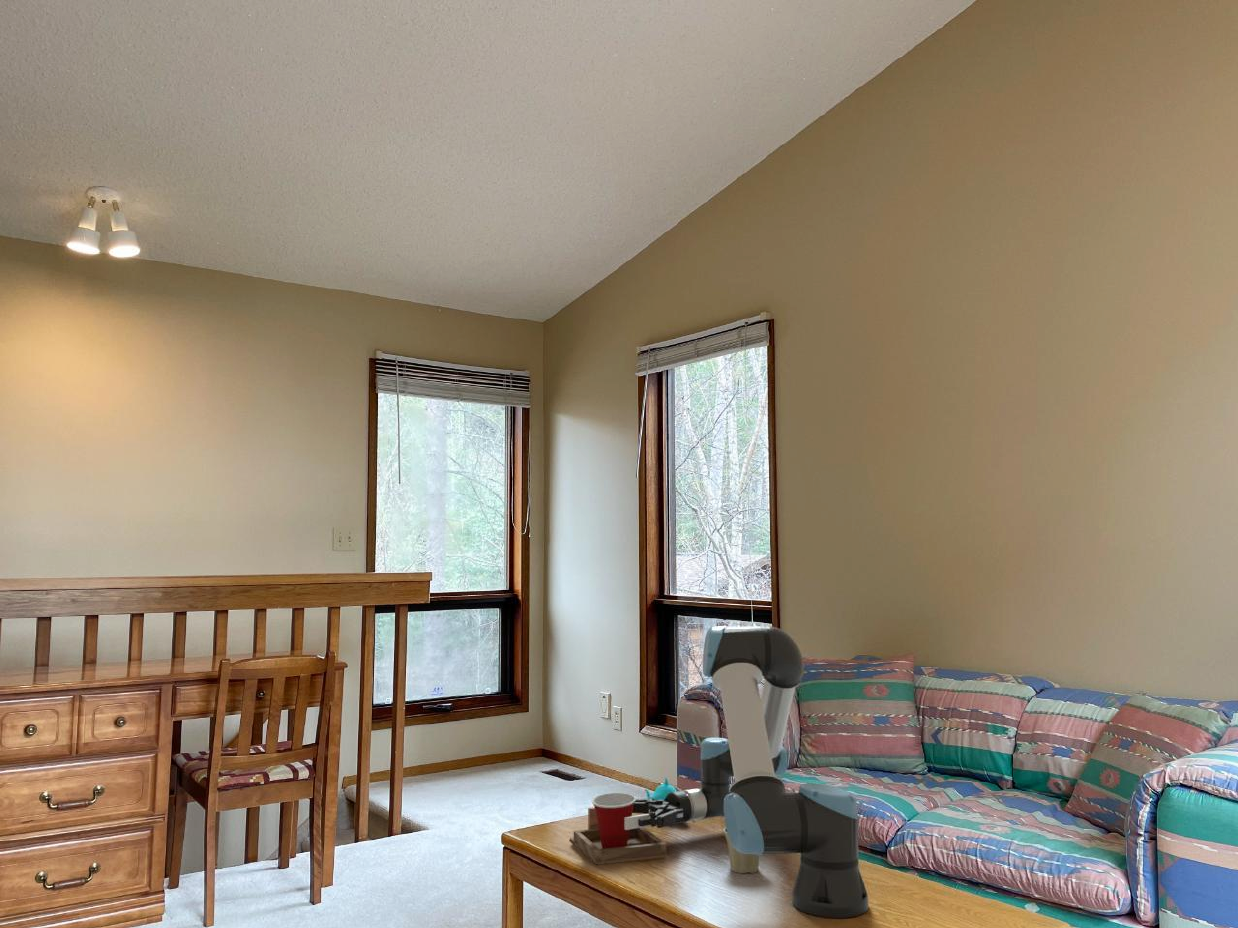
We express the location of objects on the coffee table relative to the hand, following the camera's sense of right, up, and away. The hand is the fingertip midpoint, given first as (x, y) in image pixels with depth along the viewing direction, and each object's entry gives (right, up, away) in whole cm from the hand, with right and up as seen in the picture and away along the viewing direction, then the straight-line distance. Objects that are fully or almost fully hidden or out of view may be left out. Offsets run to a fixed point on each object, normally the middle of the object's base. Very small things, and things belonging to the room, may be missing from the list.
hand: (611, 817), depth 231 cm
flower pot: (+30, -7, -13) cm, 34 cm away
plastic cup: (+1, -8, 0) cm, 8 cm away
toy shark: (+15, -11, +30) cm, 35 cm away
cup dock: (+1, -8, +2) cm, 9 cm away
